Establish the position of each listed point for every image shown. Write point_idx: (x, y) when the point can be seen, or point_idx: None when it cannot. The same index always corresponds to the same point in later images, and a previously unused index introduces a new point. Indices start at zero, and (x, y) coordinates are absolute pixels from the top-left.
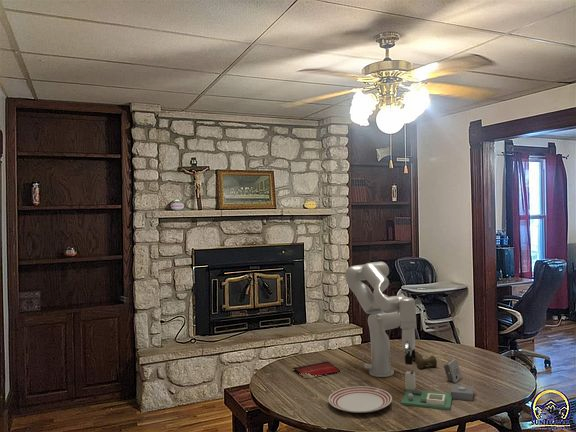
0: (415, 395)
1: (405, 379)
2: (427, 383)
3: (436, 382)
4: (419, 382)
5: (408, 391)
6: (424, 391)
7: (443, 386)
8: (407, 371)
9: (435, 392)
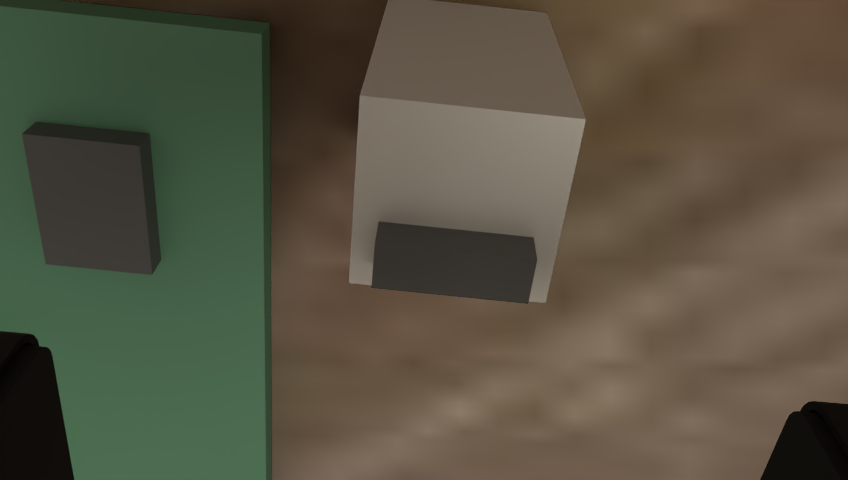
0: (25, 179)
1: (374, 53)
2: (676, 313)
3: (716, 413)
4: (725, 209)
5: (161, 66)
6: (240, 294)
7: (564, 473)
8: (569, 145)
9: (244, 413)
